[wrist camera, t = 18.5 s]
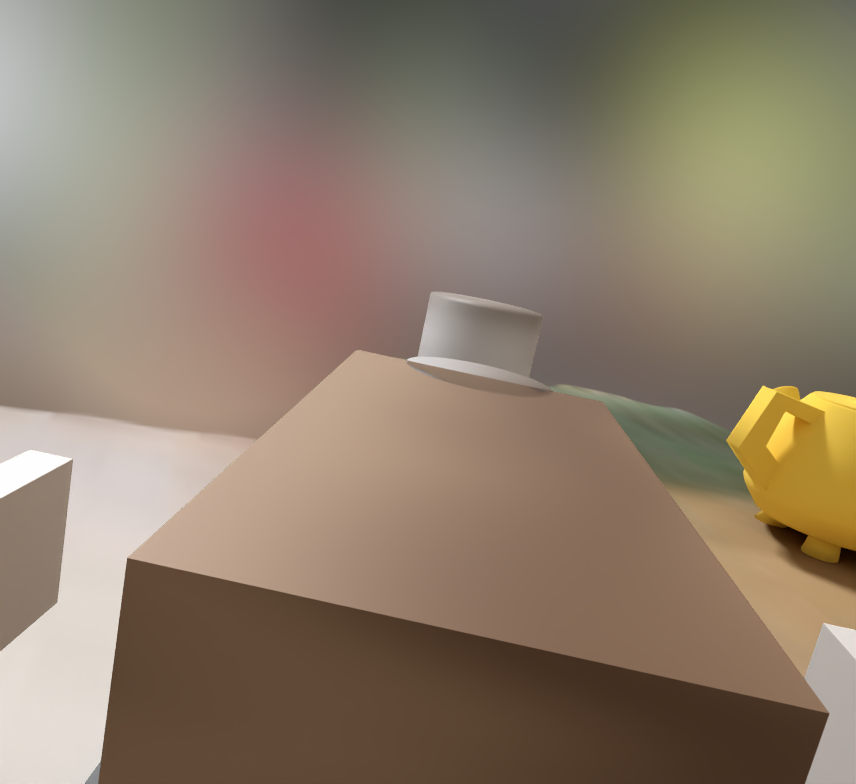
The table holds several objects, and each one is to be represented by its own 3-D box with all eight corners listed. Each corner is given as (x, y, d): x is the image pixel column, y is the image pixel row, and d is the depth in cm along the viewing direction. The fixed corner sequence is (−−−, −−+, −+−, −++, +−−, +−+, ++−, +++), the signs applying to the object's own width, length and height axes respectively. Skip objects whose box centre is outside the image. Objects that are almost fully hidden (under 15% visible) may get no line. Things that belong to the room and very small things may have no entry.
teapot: (646, 473, 60) (685, 333, 58) (846, 504, 63) (890, 373, 61) (802, 600, 41) (869, 399, 39) (1078, 636, 44) (1155, 452, 42)
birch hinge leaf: (425, 840, 19) (547, 322, 16) (321, 816, 19) (427, 296, 16) (447, 607, 31) (520, 286, 28) (383, 593, 31) (450, 271, 28)
